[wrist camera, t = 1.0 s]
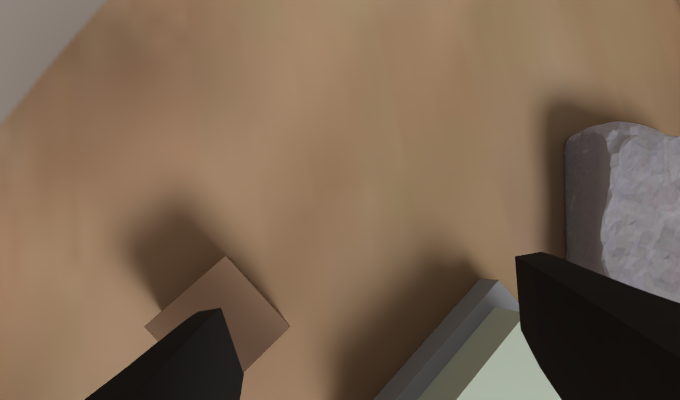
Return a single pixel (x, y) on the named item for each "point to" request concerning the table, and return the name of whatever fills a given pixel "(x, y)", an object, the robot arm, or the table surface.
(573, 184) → the stone block
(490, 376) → the green top slab
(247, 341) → the walnut cube
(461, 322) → the grey base slab
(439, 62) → the table surface
